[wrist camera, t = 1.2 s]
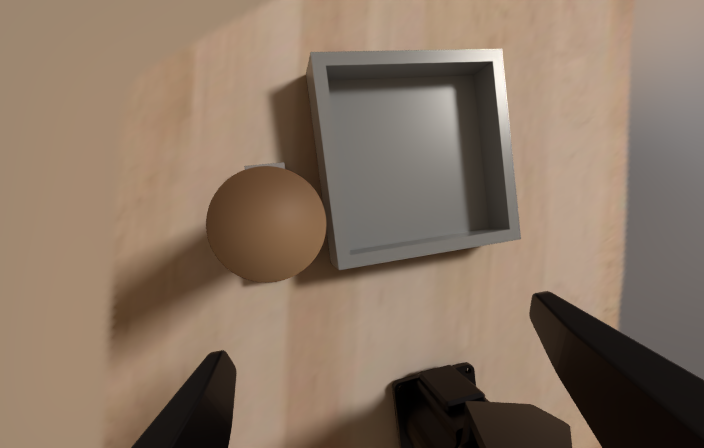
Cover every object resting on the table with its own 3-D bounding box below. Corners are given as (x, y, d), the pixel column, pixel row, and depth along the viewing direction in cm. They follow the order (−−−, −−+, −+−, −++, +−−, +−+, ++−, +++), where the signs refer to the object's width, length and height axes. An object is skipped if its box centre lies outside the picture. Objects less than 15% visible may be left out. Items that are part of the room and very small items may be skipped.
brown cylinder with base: (306, 267, 22) (339, 323, 11) (252, 276, 22) (224, 346, 10) (292, 165, 22) (311, 106, 10) (236, 170, 21) (188, 113, 9)
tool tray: (492, 236, 26) (521, 239, 23) (330, 263, 23) (338, 270, 20) (475, 68, 25) (502, 48, 22) (305, 73, 22) (310, 52, 19)
